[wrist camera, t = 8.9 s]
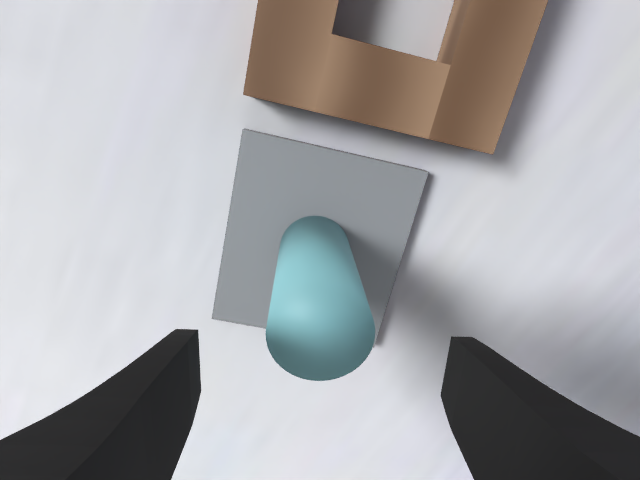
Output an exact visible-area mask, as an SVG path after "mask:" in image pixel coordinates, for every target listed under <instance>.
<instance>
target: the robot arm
mask: <svg viewBox="0 0 640 480" xmlns="http://www.w3.org/2000/svg"><path fill="white" fill-rule="evenodd" d="M200 393H201V380H200V359H199V339H198V330H188V329H176V330H174V331H173V332H171V333H170V334H169V335H167V336H166V337H165V338H163V339H162V340H161V341H159V342H158V343H157V344H156V345H154V346H153V347H152V348H150V349H149V350H148V351H147V352H145V353H144V354H143V355H141V356H140V357H139V358H137V359H136V360H135V361H133V362H132V363H131V364H129V365H128V366H127V367H125V368H124V369H122V370H121V371H120V372H118V373H117V374H115V375H114V376H112V377H111V378H109V379H108V380H106V381H105V382H103V383H102V384H101V385H99V386H98V387H96V388H95V389H93V390H92V391H90V392H89V393H87V394H85V395H84V396H82V397H81V398H79V399H77V400H76V401H74V402H72V403H71V404H69V405H67V406H65V407H64V408H62V409H60V410H58V411H57V412H55V413H53V414H51V415H49V416H48V417H46V418H44V419H42V420H40V421H38V422H36V423H34V424H32V425H30V426H28V427H26V428H24V429H22V430H20V431H18V432H16V433H14V434H12V435H10V436H8V437H6V438H4V439H2V440H0V480H171V478H172V475H173V473H174V470H175V468H176V465H177V463H178V460H179V458H180V455H181V453H182V450H183V448H184V445H185V443H186V440H187V437H188V435H189V432H190V430H191V427H192V424H193V420H194V417H195V413H196V409H197V405H198V401H199V397H200ZM441 398H442V402H443V405H444V409H445V412H446V415H447V418H448V421H449V424H450V427H451V430H452V432H453V435H454V437H455V439H456V441H457V443H458V446H459V448H460V450H461V452H462V454H463V457H464V459H465V461H466V463H467V465H468V467H469V470H470V472H471V474H472V476H473V478H474V480H640V437H639V436H637V435H635V434H633V433H630V432H628V431H626V430H624V429H622V428H620V427H618V426H616V425H614V424H612V423H611V422H609V421H607V420H605V419H603V418H601V417H599V416H597V415H595V414H594V413H592V412H590V411H588V410H586V409H584V408H583V407H581V406H579V405H577V404H576V403H574V402H572V401H571V400H569V399H567V398H566V397H564V396H562V395H561V394H559V393H557V392H556V391H554V390H552V389H551V388H549V387H548V386H546V385H544V384H543V383H541V382H540V381H538V380H537V379H535V378H534V377H532V376H531V375H529V374H528V373H526V372H525V371H523V370H522V369H520V368H519V367H517V366H516V365H514V364H513V363H511V362H510V361H508V360H507V359H505V358H504V357H502V356H501V355H500V354H498V353H497V352H495V351H494V350H492V349H491V348H489V347H488V346H486V345H485V344H483V343H481V342H480V341H478V340H476V339H475V338H473V337H451V341H450V347H449V352H448V358H447V363H446V369H445V374H444V380H443V385H442V391H441Z"/></svg>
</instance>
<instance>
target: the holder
mask: <svg viewBox="0 0 640 480" xmlns="http://www.w3.org/2000/svg"><path fill="white" fill-rule="evenodd" d="M338 1H339V0H258V4H257V11H256V17H255V23H254V29H253V36H252V42H251V48H250V55H249V61H248V67H247V73H246V80H245V86H244V92H243V95H246V96H251V97H255V98H259V99H263V100H267V101H272V102H276V103H280V104H284V105H288V106H292V107H297V108H301V109H305V110H309V111H313V112H317V113H322V114H326V115H330V116H334V117H338V118H342V119H347V120H351V121H355V122H359V123H363V124H368V125H372V126H376V127H380V128H384V129H388V130H393V131H397V132H401V133H405V134H409V135H413V136H418V137H422V138H426V139H430V140H434V141H439V142H443V143H447V144H451V145H455V146H459V147H464V148H468V149H472V150H476V151H480V152H484V153H489V154H493V153H494V151H495V148H496V145H497V142H498V139H499V137H500V134H501V131H502V128H503V125H504V123H505V120H506V117H507V114H508V111H509V109H510V106H511V103H512V100H513V97H514V95H515V92H516V89H517V86H518V83H519V81H520V78H521V75H522V72H523V69H524V67H525V64H526V61H527V58H528V55H529V53H530V50H531V47H532V44H533V41H534V39H535V36H536V33H537V30H538V27H539V25H540V22H541V19H542V16H543V14H544V11H545V8H546V5H547V2H548V0H454V4H453V7H452V10H451V14H450V17H449V21H448V24H447V27H446V31H445V34H444V38H443V41H442V44H441V48H440V51H439V55H438V58H437V61H433V60H429V59H425V58H422V57H418V56H414V55H410V54H406V53H402V52H399V51H395V50H391V49H387V48H383V47H380V46H376V45H372V44H368V43H364V42H361V41H357V40H353V39H349V38H345V37H341V36H338V35H334V34H332V29H333V25H334V20H335V15H336V11H337V6H338Z"/></svg>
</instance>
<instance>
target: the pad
mask: <svg viewBox="0 0 640 480" xmlns="http://www.w3.org/2000/svg"><path fill="white" fill-rule="evenodd" d="M428 173H429V172H427V171H426V170H422V169H418V168H413V167H409V166H405V165H400V164H396V163H392V162H387V161H383V160H379V159H374V158H370V157H366V156H361V155H357V154H353V153H348V152H344V151H340V150H335V149H331V148H327V147H322V146H318V145H313V144H309V143H305V142H300V141H296V140H292V139H287V138H283V137H279V136H274V135H270V134H266V133H261V132H257V131H253V130H248V129H243V130H242V136H241V142H240V148H239V154H238V161H237V167H236V173H235V179H234V185H233V191H232V197H231V204H230V210H229V216H228V222H227V228H226V234H225V240H224V246H223V253H222V259H221V265H220V271H219V277H218V283H217V289H216V295H215V302H214V308H213V314H212V319H215V320H221V321H226V322H232V323H238V324H243V325H249V326H255V327H260V328H266V326H267V320H268V314H269V308H270V302H271V296H272V290H273V284H274V278H275V272H276V266H277V260H278V254H279V248H280V242H281V239H282V236H283V234H284V232H285V231H286V229H287V228H288V227H289V226H290V225H291V224H292V223H293V222H295V221H297V220H298V219H301V218H303V217H307V216H322V217H326V218H329V219H331V220H333V221H334V222H336V223H337V224H338V225H339V226H340V227H341V228H342V229H343V230H344V232H345V234H346V236H347V239H348V242H349V245H350V248H351V251H352V254H353V257H354V260H355V263H356V267H357V270H358V273H359V276H360V279H361V282H362V285H363V288H364V291H365V294H366V298H367V301H368V304H369V307H370V310H371V313H372V316H373V320H374V323H375V340H374V344H373V348H374V345H375V342H376V339H377V336H378V333H379V329H380V326H381V323H382V320H383V317H384V313H385V310H386V307H387V304H388V301H389V297H390V294H391V291H392V288H393V285H394V281H395V278H396V275H397V272H398V269H399V265H400V262H401V259H402V256H403V253H404V249H405V246H406V243H407V240H408V237H409V233H410V230H411V227H412V224H413V221H414V217H415V214H416V211H417V208H418V205H419V201H420V198H421V195H422V192H423V189H424V185H425V182H426V179H427V176H428Z"/></svg>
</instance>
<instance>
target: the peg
mask: <svg viewBox="0 0 640 480" xmlns="http://www.w3.org/2000/svg"><path fill="white" fill-rule="evenodd" d="M374 340H375V323H374V320H373V316H372V313H371V310H370V307H369V304H368V301H367V298H366V294H365V291H364V288H363V285H362V282H361V279H360V276H359V273H358V270H357V267H356V263H355V260H354V257H353V254H352V251H351V248H350V245H349V242H348V239H347V236H346V234H345V232H344V230H343V229H342V228H341V227H340V226H339V225H338V224H337V223H336V222H334V221H333V220H331V219H329V218H326V217H322V216H307V217H303V218H301V219H298V220H297V221H295V222H293V223H292V224H291V225H290V226H289V227H288V228H287V229H286V231H285V232H284V234H283V236H282V239H281V242H280V248H279V254H278V260H277V266H276V272H275V278H274V284H273V290H272V296H271V302H270V308H269V314H268V320H267V326H266V342H267V346H268V349H269V351H270V353H271V355H272V357H273V358H274V360H275V361H276V362H277V363H278V364H279V365H280V366H281V367H282V368H283V369H284V370H286V371H287V372H289V373H291V374H292V375H295V376H297V377H300V378H303V379H307V380H314V381H325V380H332V379H336V378H339V377H342V376H344V375H346V374H348V373H350V372H352V371H353V370H355V369H356V368H357V367H359V366H360V365H361V364H362V363H363V362H364V361H365V359H366V358H367V357H368V355H369V353H370V351H371V349H372V347H373V344H374Z"/></svg>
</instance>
